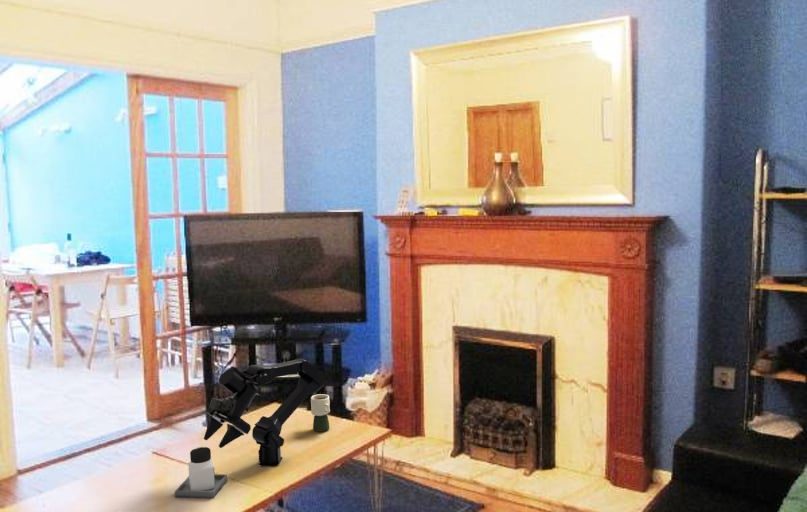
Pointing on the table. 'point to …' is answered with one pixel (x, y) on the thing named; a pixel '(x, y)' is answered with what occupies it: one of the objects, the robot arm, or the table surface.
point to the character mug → (320, 411)
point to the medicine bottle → (201, 470)
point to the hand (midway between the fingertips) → (212, 443)
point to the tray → (186, 492)
